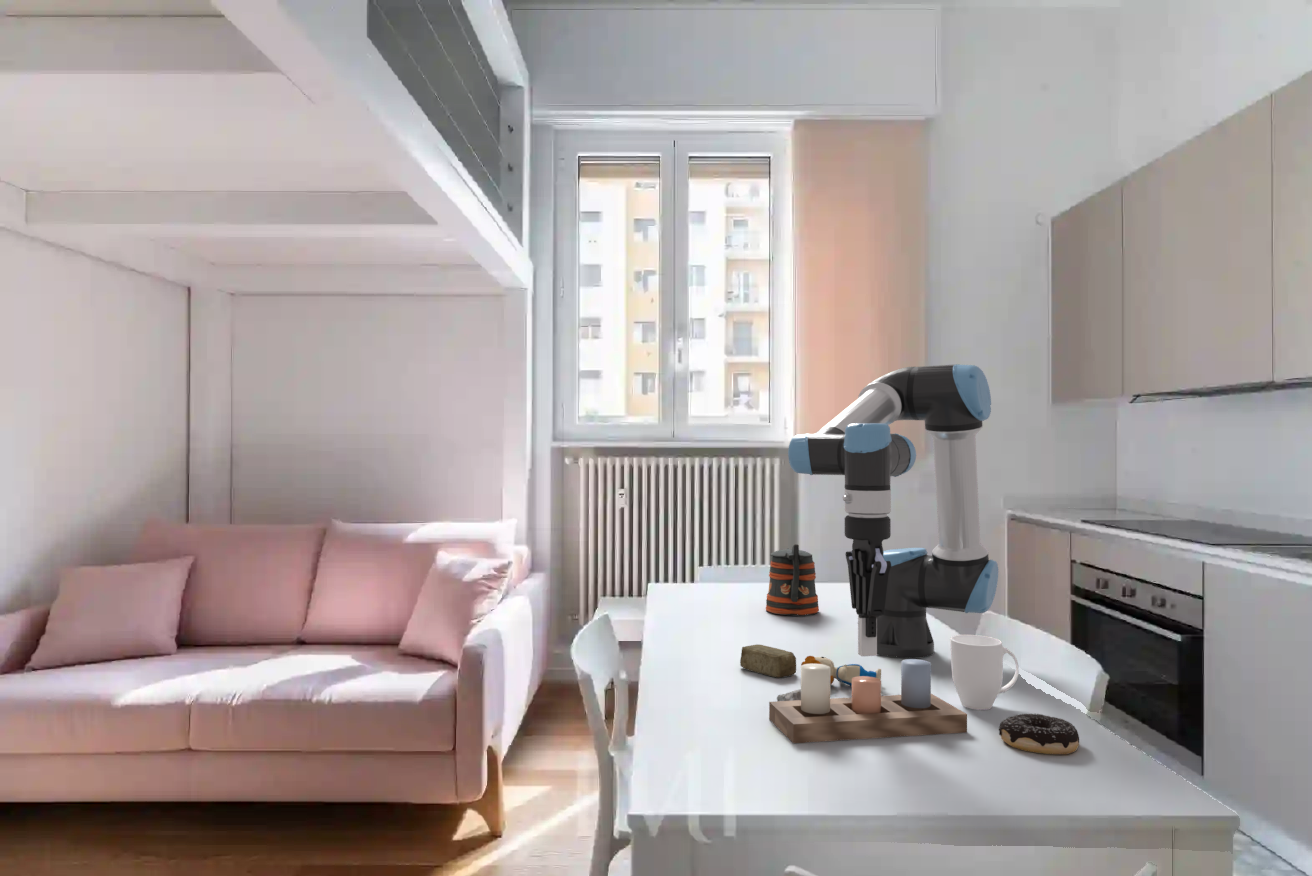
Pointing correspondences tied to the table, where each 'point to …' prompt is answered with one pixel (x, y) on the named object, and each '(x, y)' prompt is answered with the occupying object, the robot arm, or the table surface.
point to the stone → (790, 696)
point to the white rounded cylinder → (815, 688)
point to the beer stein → (792, 583)
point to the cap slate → (916, 683)
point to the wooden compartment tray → (866, 720)
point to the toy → (842, 670)
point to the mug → (979, 669)
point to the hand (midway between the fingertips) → (867, 654)
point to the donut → (1039, 734)
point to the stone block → (768, 661)
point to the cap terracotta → (866, 695)
